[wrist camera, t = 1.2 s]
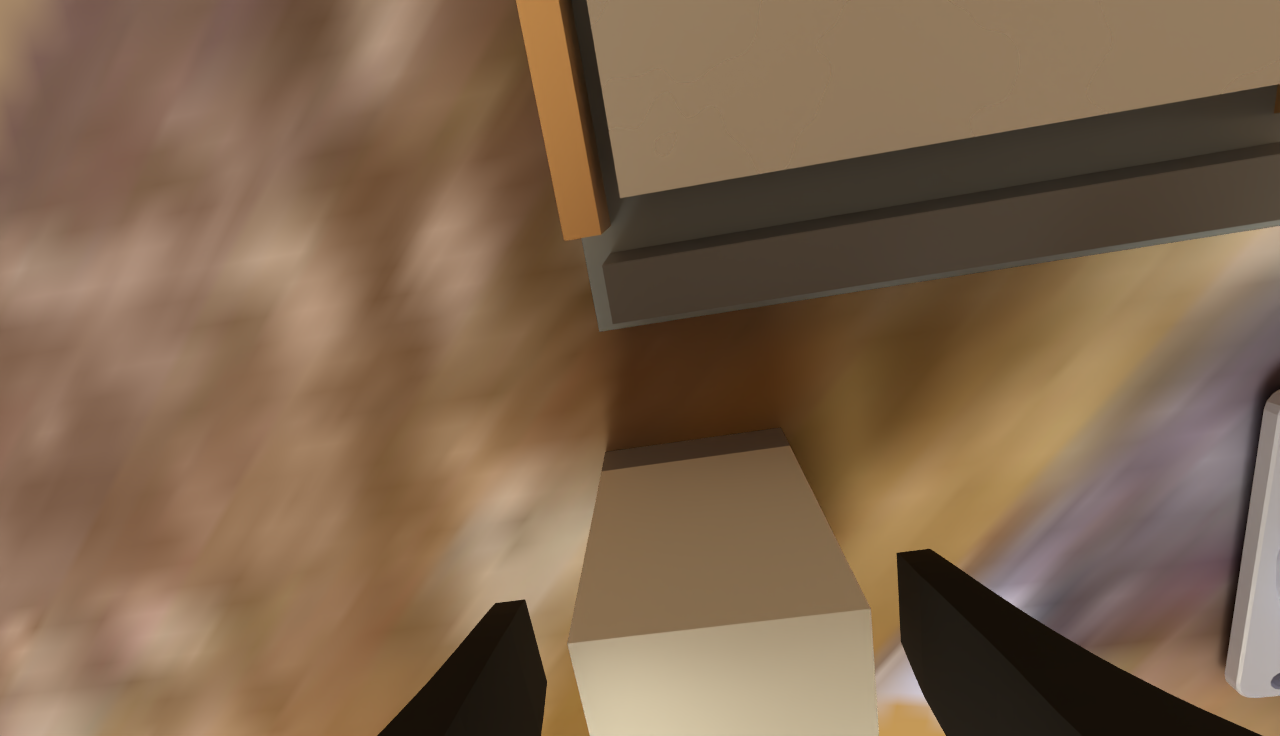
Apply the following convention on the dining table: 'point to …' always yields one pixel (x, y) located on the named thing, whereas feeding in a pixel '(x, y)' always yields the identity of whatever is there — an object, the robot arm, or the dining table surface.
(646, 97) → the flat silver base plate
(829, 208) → the rail panel
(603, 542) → the block
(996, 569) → the dining table surface
